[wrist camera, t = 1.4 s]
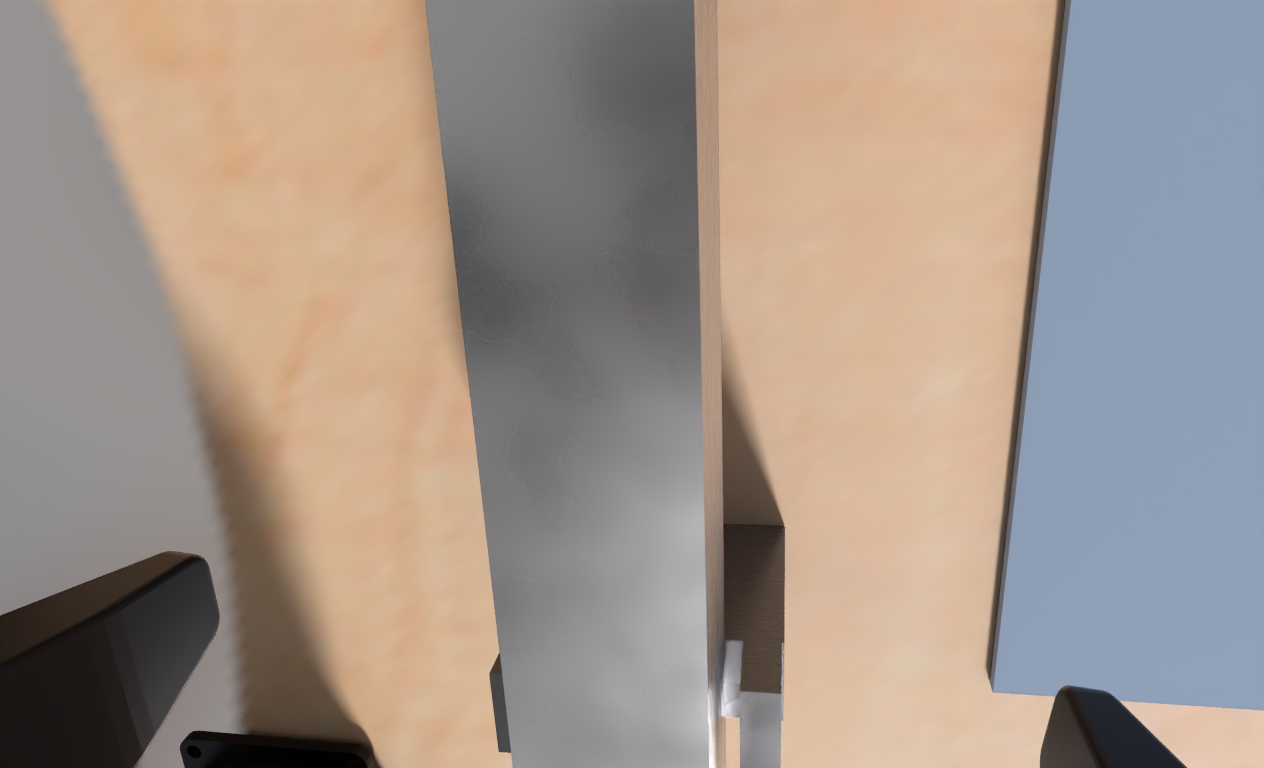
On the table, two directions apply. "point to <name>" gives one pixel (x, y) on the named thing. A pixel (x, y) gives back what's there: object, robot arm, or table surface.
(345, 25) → the table surface
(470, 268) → the rail
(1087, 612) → the mat
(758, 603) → the stand
